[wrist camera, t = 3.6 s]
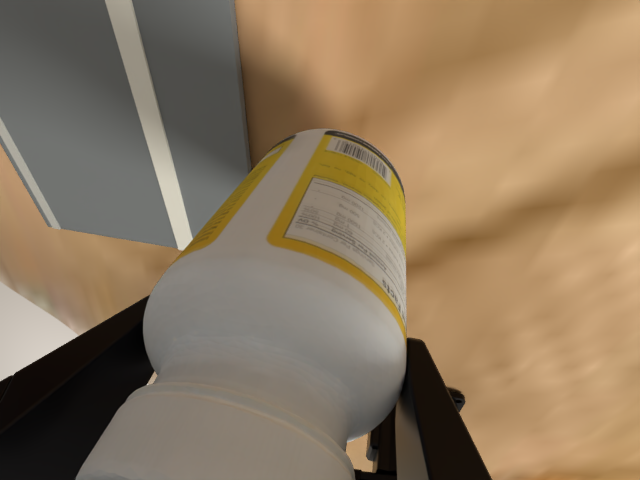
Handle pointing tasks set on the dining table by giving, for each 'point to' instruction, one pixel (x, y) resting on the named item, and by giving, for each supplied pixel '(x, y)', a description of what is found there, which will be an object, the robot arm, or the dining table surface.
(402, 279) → the pill bottle
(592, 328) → the dining table surface
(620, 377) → the dining table surface
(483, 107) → the dining table surface
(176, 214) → the mat
